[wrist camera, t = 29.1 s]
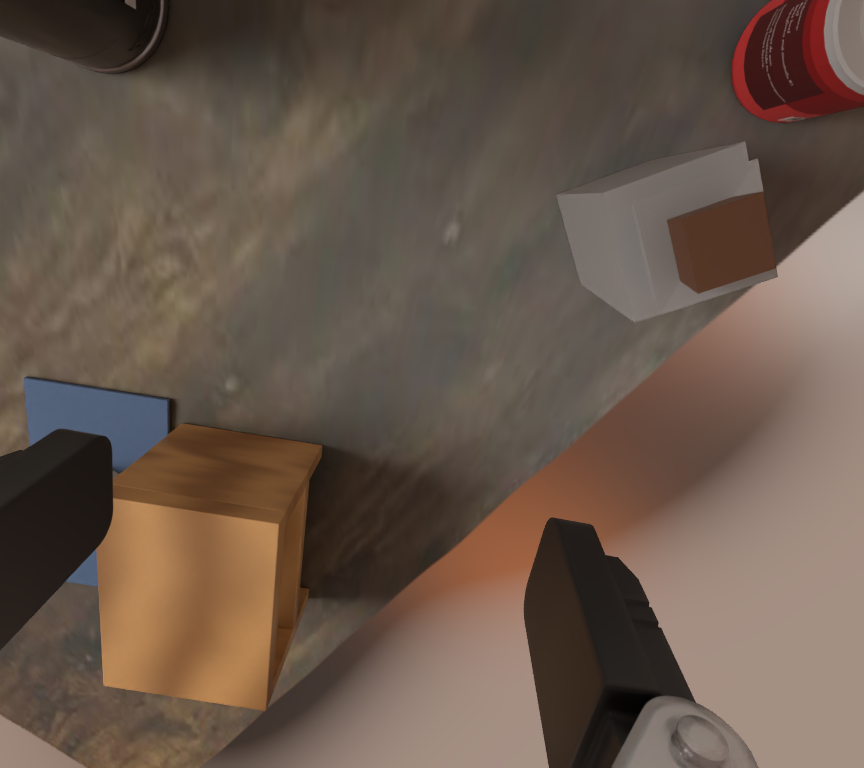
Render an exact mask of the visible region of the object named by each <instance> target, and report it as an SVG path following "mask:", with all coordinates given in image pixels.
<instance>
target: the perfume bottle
mask: <svg viewBox="0 0 864 768" xmlns="http://www.w3.org/2000/svg"><path fill="white" fill-rule="evenodd" d="M556 196H557V200H558V204H559V207H560V211H561V215H562V218H563V222H564V226H565V229H566V233H567V237H568V240H569V244H570V247H571V251H572V255H573V258H574V262H575V266H576V269H577V273H578V277H579V280H580V284H581V285H582V286H584V287H585V288H587V289H588V290H589V291H591V292H592V293H594V294H595V295H596V296H598V297H599V298H601V299H602V300H604V301H605V302H606V303H608V304H609V305H611V306H612V307H613V308H615V309H616V310H618V311H619V312H621V313H622V314H623V315H625V316H626V317H628V318H629V319H630V320H632V321H633V322H635V323H636V322H639V321H642V320H645V319H648V318H651V317H654V316H658V315H662V314H665V313H668V312H671V311H674V310H677V309H681V308H684V307H687V306H690V305H693V304H696V303H699V302H702V301H705V300H708V299H711V298H714V297H718V296H721V295H724V294H727V293H730V292H733V291H736V290H739V289H742V288H745V287H748V286H751V285H755V284H758V283H761V282H764V281H767V280H770V279H773V278H776V277H778V276H777V270H776V264H775V258H774V252H773V246H772V240H771V234H770V228H769V222H768V216H767V210H766V204H765V198H764V192H763V186H762V180H761V174H760V168H759V162H758V158H757V159H754V160H751V161H749V159H748V153H747V147H746V141H745V142H740V143H735V144H730V145H725V146H719V147H714V148H709V149H704V150H699V151H694V152H689V153H684V154H679V155H674V156H669V157H664V158H659V159H653V160H649V161H647V162H644V163H641V164H638V165H636V166H633V167H630V168H627V169H625V170H622V171H619V172H617V173H614V174H611V175H608V176H606V177H603V178H600V179H597V180H595V181H592V182H589V183H587V184H584V185H581V186H578V187H576V188H573V189H570V190H567V191H565V192H562V193H559V194H556Z"/></svg>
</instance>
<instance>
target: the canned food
mask: <svg viewBox="0 0 864 768" xmlns="http://www.w3.org/2000/svg"><path fill="white" fill-rule="evenodd" d="M731 79H732V86H733V89H734V92H735V95H736V97H737V99H738V100H739V102H740V103H741V105H742V106H743V107H744V108H745V109H746V110H747V111H748V112H750V113H752V114H753V115H755V116H757V117H759V118H761V119H764V120H767V121H770V122H779V123H786V122H793V121H799V120H804V119H808V118H813V117H817V116H822V115H827V114H831V113H836V112H840V111H845V110H850V109H854V108H859V107H863V106H864V0H771V1H770V2H769V3H768V4H766V5H765V6H764V7H763V8H762V9H761V10H760V11H759V12H758V13H757V14H756V15H755V16H754V18H753V19H752V20H751V21H750V23H749V24H748V26H747V27H746V29H745V31H744V32H743V34H742V35H741V37H740V39H739V42H738V44H737V46H736V49H735V52H734V56H733V60H732V67H731Z"/></svg>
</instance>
